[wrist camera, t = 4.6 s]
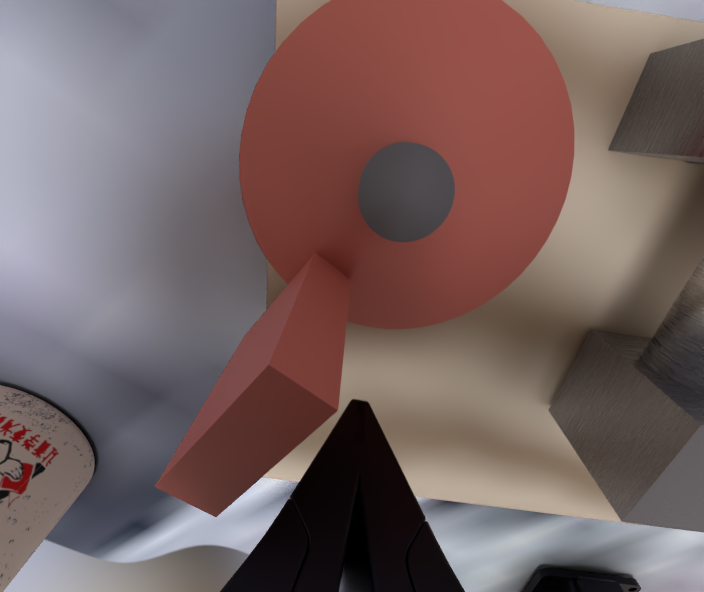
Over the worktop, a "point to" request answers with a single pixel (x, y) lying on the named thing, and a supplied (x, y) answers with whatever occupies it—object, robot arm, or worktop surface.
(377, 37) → the handwheel
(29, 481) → the teacup with lid
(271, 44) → the worktop surface
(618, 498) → the grey rod with block
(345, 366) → the base board
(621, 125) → the eye post
